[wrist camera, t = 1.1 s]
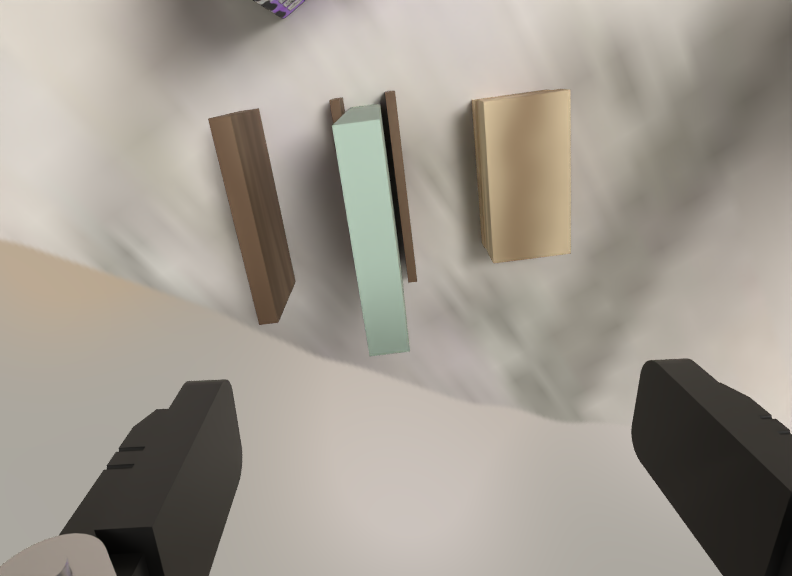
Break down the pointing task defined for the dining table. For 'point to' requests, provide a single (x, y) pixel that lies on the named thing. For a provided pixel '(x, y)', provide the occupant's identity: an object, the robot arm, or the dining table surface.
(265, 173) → the walnut rack
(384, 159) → the sage sheet
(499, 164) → the offcut top
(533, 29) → the dining table surface
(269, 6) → the candy box
